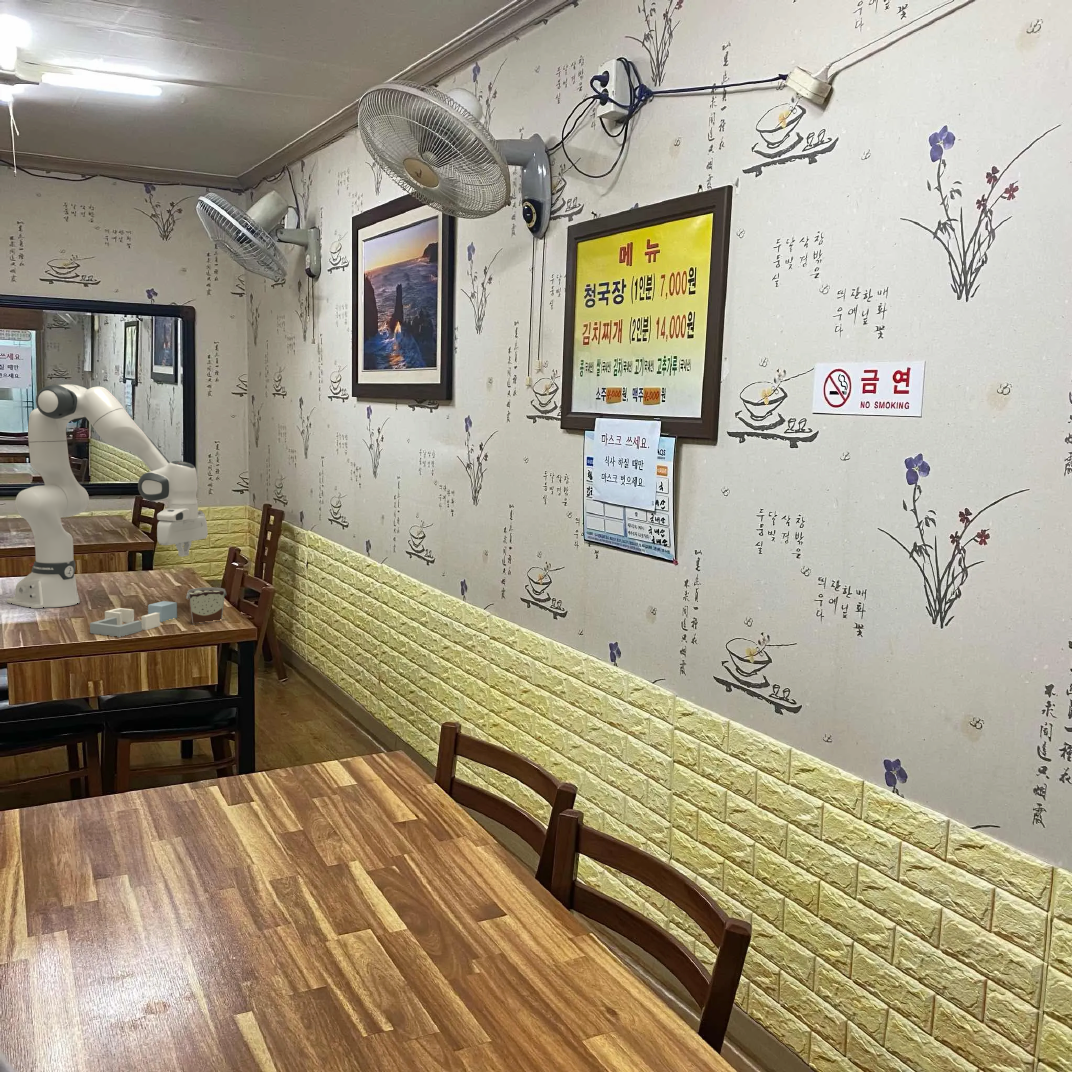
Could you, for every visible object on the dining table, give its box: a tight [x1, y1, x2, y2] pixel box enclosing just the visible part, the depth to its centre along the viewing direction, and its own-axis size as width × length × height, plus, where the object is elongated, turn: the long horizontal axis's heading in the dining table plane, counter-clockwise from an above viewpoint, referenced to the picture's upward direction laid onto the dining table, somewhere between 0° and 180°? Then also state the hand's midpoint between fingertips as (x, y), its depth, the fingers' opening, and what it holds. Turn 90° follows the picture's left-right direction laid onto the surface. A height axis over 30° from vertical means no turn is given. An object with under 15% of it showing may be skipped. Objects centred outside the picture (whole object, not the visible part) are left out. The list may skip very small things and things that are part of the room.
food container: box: [185, 586, 227, 623], centre depth 302 cm, size 12×6×10 cm, turn 131°
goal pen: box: [89, 617, 143, 638], centre depth 283 cm, size 10×9×3 cm
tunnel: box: [104, 607, 161, 631], centre depth 292 cm, size 15×6×4 cm, turn 71°
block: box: [147, 600, 178, 623], centre depth 302 cm, size 5×7×5 cm
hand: (183, 555), depth 309 cm, fingers closed
